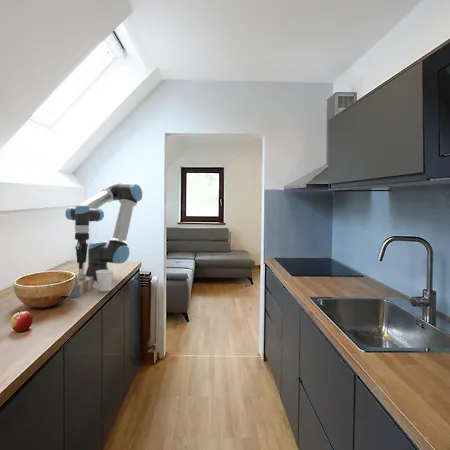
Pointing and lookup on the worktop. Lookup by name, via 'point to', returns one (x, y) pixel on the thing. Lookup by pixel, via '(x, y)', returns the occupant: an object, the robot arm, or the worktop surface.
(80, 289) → the block
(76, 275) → the peg
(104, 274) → the cup
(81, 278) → the peg
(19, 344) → the worktop surface
